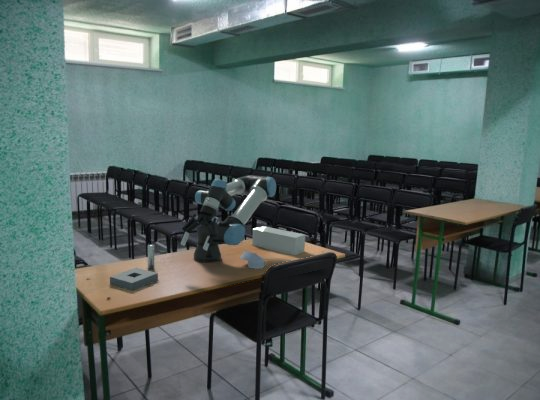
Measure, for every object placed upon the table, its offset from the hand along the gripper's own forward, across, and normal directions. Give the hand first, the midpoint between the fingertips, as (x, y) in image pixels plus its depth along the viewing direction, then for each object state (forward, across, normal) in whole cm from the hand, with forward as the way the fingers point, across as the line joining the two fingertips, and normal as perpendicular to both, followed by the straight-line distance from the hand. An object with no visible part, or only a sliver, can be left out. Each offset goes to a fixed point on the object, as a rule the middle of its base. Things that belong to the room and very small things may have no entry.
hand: (193, 247), depth 207 cm
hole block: (+24, -18, -7) cm, 31 cm away
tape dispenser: (-7, +14, +37) cm, 40 cm away
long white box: (-29, +8, +67) cm, 73 cm away
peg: (+13, -26, +8) cm, 30 cm away
